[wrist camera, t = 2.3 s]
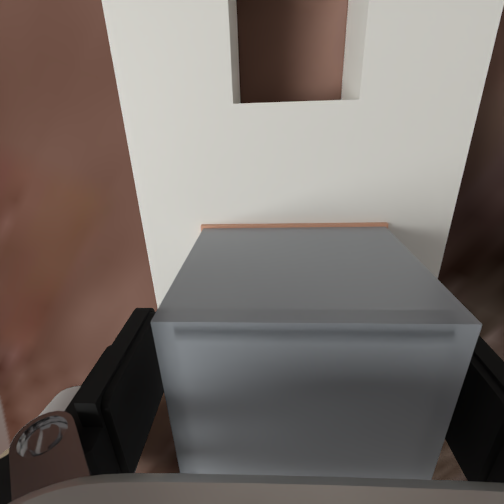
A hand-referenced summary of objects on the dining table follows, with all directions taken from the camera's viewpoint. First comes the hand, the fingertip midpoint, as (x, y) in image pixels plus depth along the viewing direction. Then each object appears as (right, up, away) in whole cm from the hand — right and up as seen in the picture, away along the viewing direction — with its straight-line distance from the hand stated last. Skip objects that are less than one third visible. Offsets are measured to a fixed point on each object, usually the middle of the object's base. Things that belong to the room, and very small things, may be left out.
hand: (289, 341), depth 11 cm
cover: (0, +1, +2) cm, 3 cm away
